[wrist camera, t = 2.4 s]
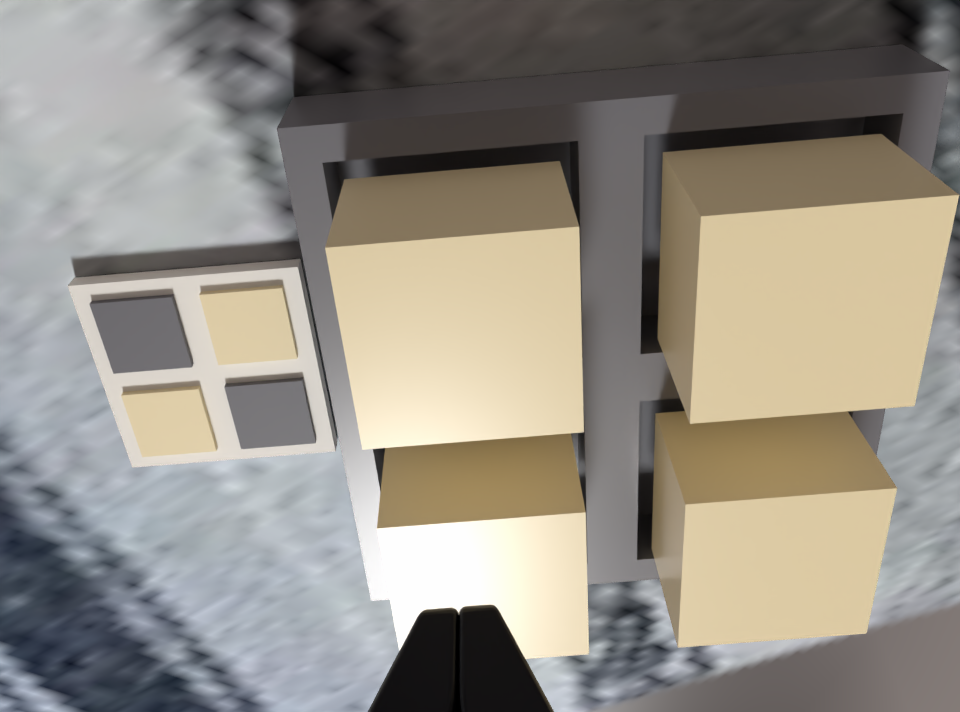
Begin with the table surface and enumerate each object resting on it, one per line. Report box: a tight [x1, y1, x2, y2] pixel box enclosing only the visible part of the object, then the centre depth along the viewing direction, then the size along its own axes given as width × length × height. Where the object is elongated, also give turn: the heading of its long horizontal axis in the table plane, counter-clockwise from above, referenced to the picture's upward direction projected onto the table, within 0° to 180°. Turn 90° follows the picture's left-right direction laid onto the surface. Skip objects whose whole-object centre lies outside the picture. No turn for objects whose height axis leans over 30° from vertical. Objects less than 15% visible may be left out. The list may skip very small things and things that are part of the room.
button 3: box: [658, 134, 959, 424], centre depth 16 cm, size 4×4×3 cm
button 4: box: [325, 161, 584, 450], centre depth 17 cm, size 4×4×3 cm
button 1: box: [652, 411, 897, 647], centre depth 20 cm, size 4×4×3 cm
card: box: [68, 259, 337, 468], centre depth 21 cm, size 5×5×1 cm
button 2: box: [377, 433, 589, 659], centre depth 20 cm, size 4×4×3 cm
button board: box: [277, 45, 950, 601], centre depth 20 cm, size 12×12×2 cm
